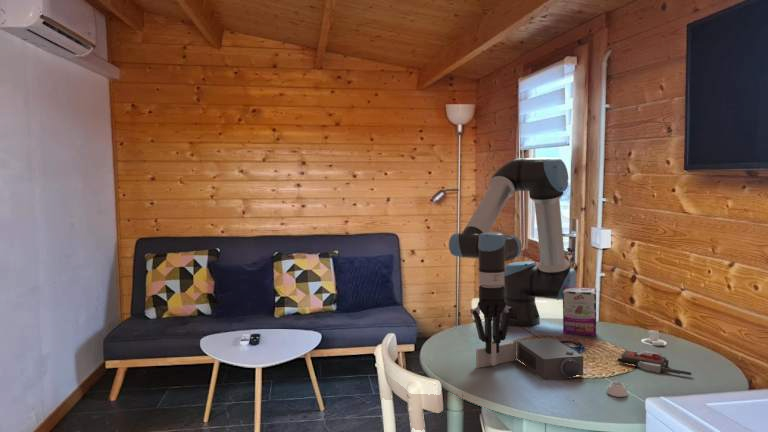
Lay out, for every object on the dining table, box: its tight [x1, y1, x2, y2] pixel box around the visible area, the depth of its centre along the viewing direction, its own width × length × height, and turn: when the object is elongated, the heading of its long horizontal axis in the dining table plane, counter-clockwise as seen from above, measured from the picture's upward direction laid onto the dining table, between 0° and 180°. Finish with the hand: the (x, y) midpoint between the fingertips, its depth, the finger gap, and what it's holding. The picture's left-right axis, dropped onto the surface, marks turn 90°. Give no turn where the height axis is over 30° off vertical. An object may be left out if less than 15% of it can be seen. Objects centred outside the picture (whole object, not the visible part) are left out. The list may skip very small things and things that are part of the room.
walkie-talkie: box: [617, 349, 692, 376], centre depth 167 cm, size 9×4×20 cm
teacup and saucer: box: [640, 329, 668, 347], centre depth 192 cm, size 9×8×4 cm
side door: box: [475, 340, 517, 369], centre depth 172 cm, size 15×1×6 cm, turn 118°
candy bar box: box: [562, 286, 597, 337], centre depth 201 cm, size 11×5×16 cm, turn 68°
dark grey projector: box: [516, 337, 584, 381], centre depth 167 cm, size 20×12×7 cm, turn 11°
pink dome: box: [606, 381, 629, 398], centre depth 148 cm, size 5×3×5 cm
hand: (492, 363), depth 168 cm, fingers closed
